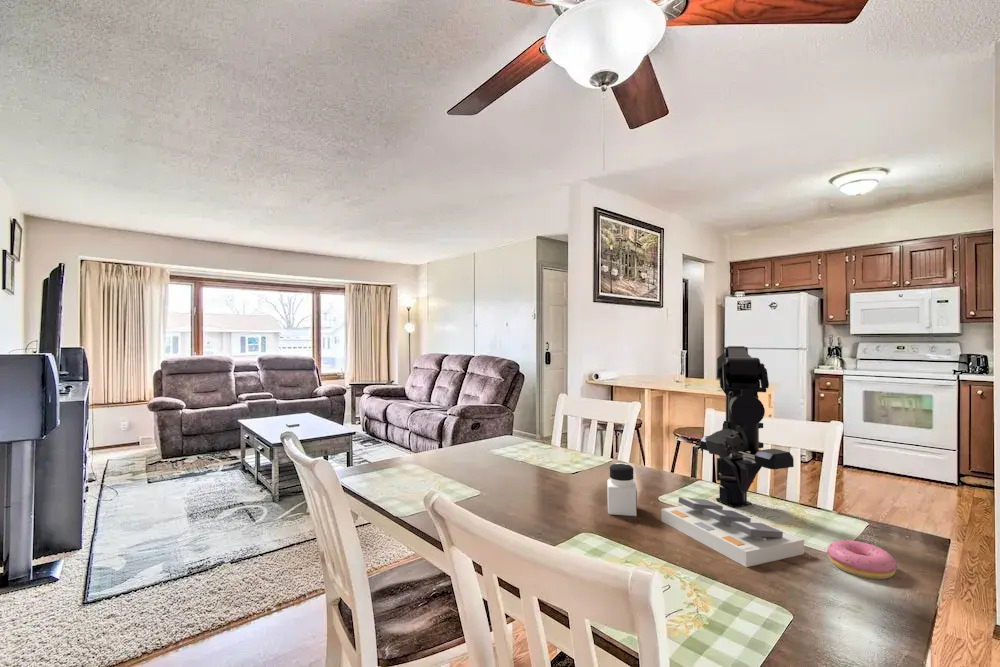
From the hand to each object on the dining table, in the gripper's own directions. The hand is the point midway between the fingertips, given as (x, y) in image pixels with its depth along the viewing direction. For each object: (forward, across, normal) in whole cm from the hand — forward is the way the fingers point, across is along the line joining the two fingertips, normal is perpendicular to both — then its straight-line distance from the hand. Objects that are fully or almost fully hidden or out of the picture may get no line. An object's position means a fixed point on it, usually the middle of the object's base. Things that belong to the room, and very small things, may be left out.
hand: (743, 491), depth 99 cm
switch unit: (+13, -8, +4) cm, 16 cm away
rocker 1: (+8, -16, +4) cm, 18 cm away
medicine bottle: (+13, -30, -10) cm, 34 cm away
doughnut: (+13, +13, +16) cm, 25 cm away
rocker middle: (+8, -8, +4) cm, 12 cm away
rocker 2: (+8, 0, +4) cm, 9 cm away
